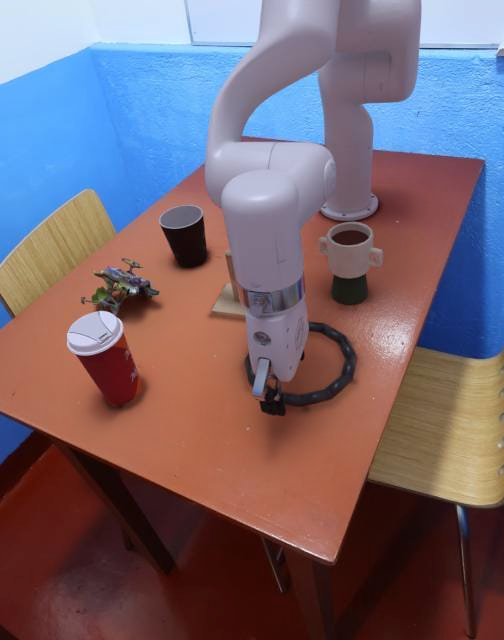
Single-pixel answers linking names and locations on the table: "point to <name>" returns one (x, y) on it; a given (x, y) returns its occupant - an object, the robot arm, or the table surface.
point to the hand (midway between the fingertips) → (284, 383)
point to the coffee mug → (185, 234)
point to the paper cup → (105, 356)
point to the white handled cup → (350, 260)
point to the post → (229, 294)
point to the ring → (336, 385)
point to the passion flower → (120, 286)
